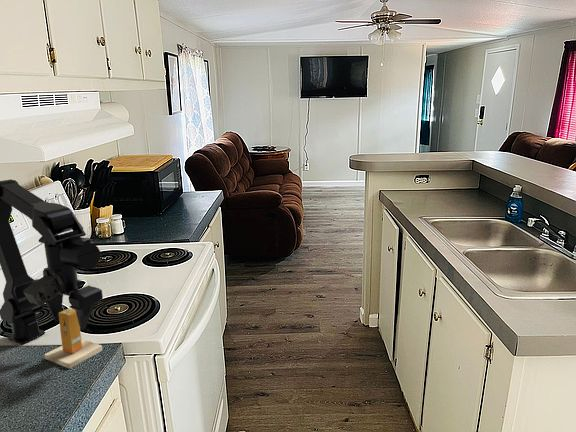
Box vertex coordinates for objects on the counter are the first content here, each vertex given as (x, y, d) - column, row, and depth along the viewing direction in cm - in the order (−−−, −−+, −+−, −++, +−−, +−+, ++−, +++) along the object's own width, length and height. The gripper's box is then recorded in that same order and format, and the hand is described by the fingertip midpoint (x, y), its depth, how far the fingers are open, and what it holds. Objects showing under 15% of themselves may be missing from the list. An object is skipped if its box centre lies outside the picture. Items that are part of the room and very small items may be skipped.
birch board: (45, 358, 105) (44, 354, 105) (78, 341, 113) (77, 337, 113) (69, 368, 101) (69, 364, 101) (102, 350, 109) (102, 345, 109)
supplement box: (84, 347, 108) (78, 309, 106) (72, 354, 105) (67, 315, 103) (73, 344, 109) (68, 307, 107) (62, 351, 106) (56, 313, 104)
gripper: (1, 267, 99) (12, 330, 103) (54, 281, 90) (65, 349, 94) (48, 252, 108) (57, 311, 112) (100, 264, 100) (108, 327, 104)
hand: (70, 324), depth 105 cm, fingers open, 9 cm apart
